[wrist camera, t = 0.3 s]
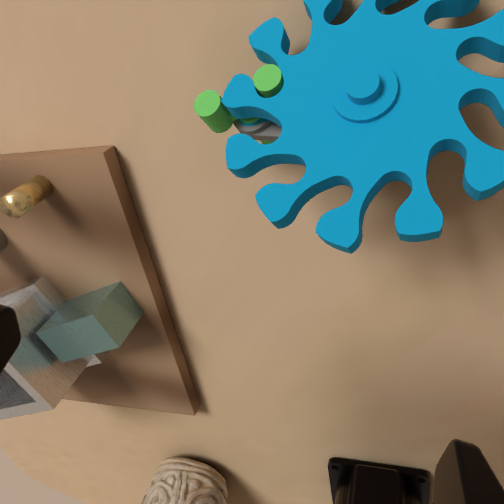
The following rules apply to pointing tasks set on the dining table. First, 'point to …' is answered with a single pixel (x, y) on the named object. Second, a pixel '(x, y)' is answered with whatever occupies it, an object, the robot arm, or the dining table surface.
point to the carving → (186, 483)
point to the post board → (96, 271)
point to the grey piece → (60, 340)
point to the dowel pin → (26, 196)
